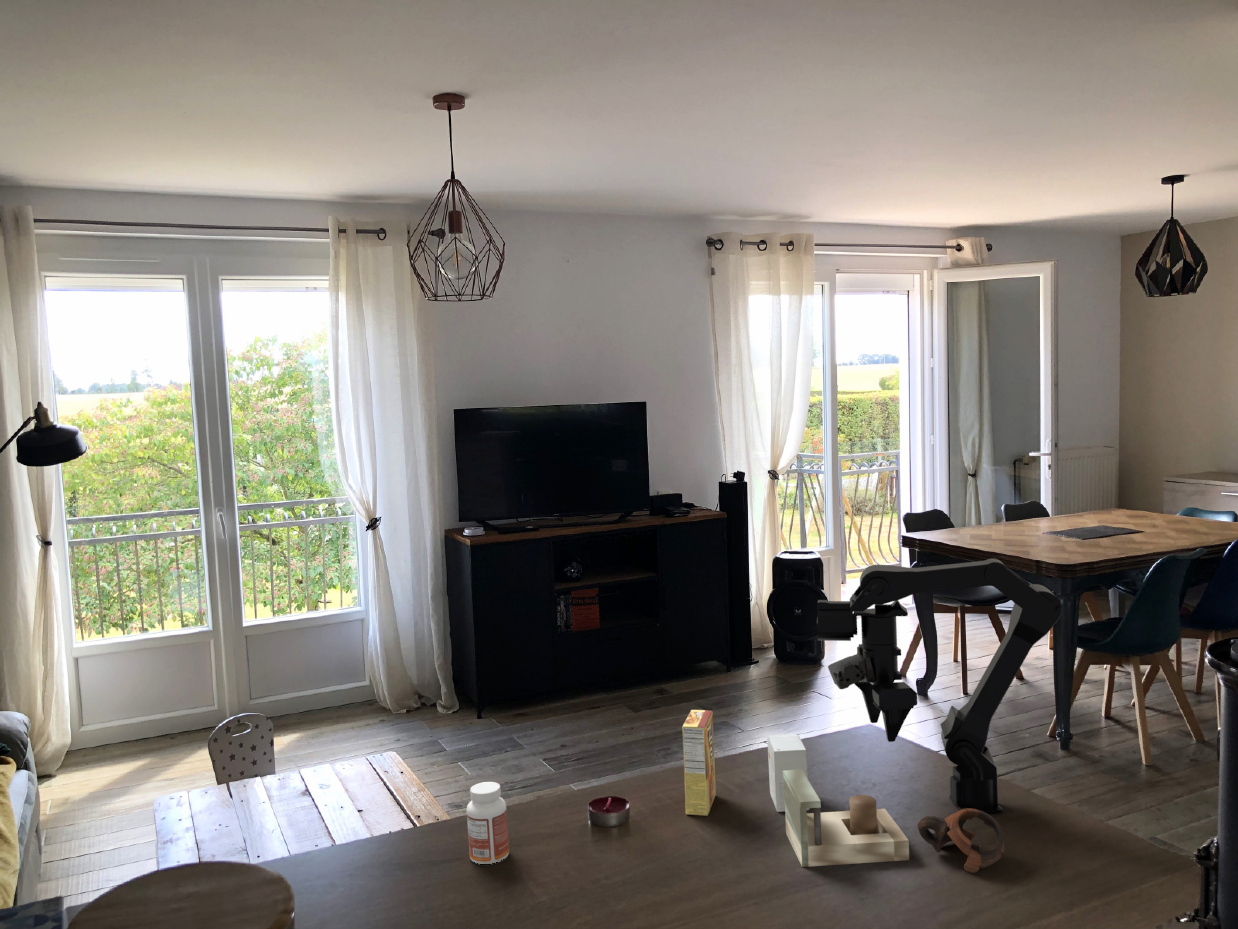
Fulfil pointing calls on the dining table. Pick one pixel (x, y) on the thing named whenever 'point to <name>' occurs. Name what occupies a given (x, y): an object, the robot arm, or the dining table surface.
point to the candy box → (699, 762)
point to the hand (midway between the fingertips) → (882, 731)
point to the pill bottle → (487, 824)
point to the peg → (863, 815)
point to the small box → (784, 763)
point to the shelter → (835, 830)
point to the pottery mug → (963, 836)
